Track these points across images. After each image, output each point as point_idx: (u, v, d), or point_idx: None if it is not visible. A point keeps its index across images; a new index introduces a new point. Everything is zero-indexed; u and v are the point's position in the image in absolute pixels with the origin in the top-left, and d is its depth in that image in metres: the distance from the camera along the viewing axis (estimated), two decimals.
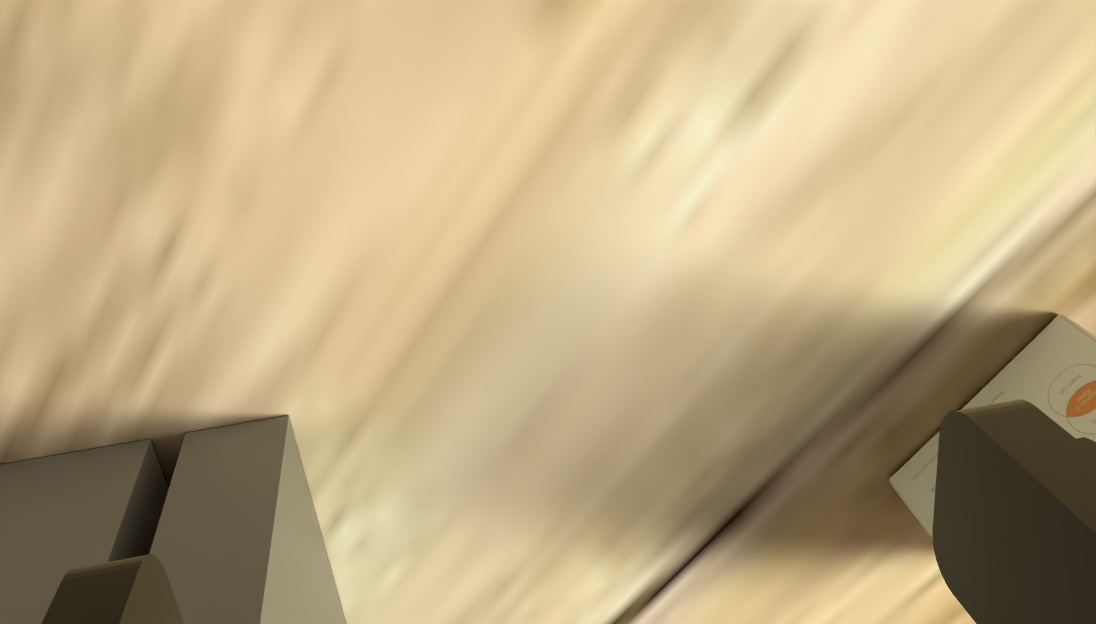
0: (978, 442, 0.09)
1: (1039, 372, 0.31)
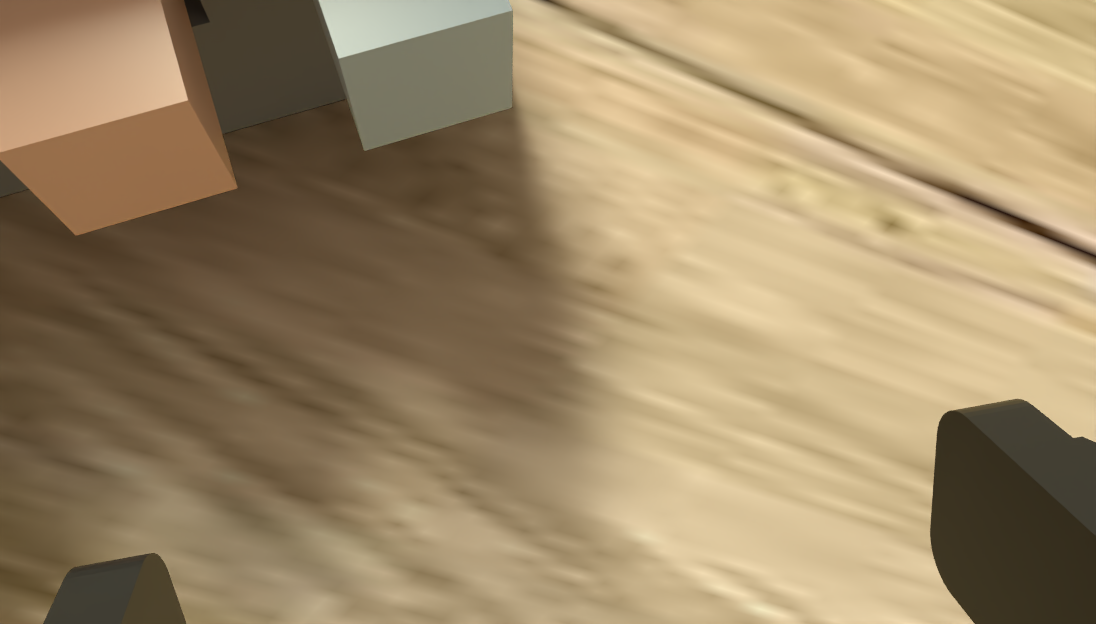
0: (974, 442, 0.09)
1: None
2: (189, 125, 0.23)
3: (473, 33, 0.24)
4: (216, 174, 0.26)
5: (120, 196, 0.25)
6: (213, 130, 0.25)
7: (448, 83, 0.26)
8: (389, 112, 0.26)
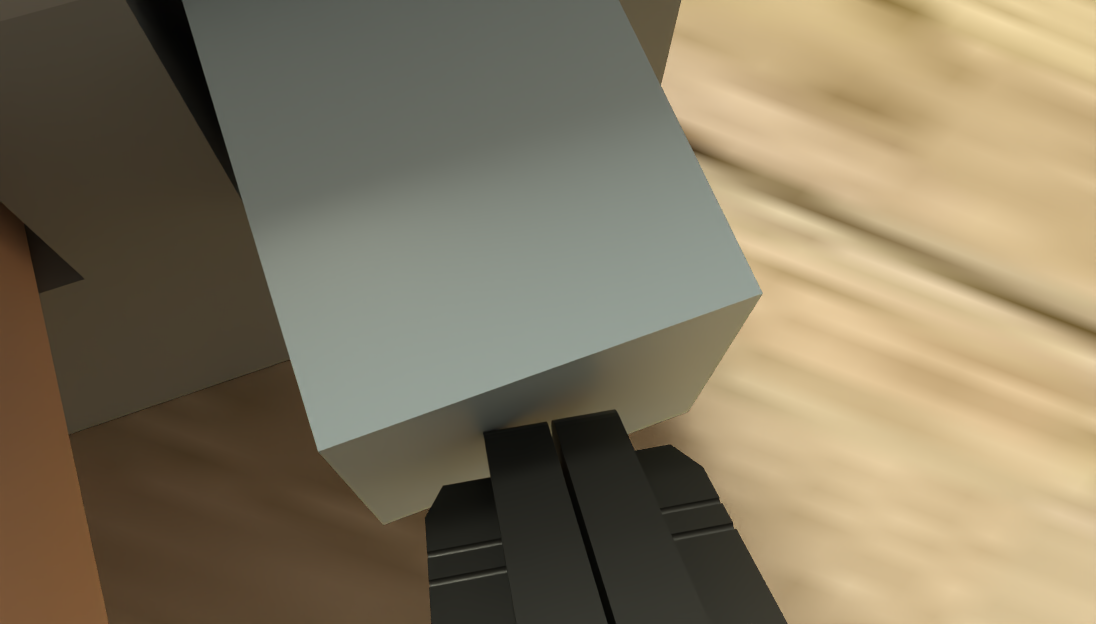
0: (559, 450, 0.10)
1: None
2: None
3: (655, 346, 0.10)
4: None
5: None
6: (52, 616, 0.11)
7: None
8: (439, 478, 0.11)
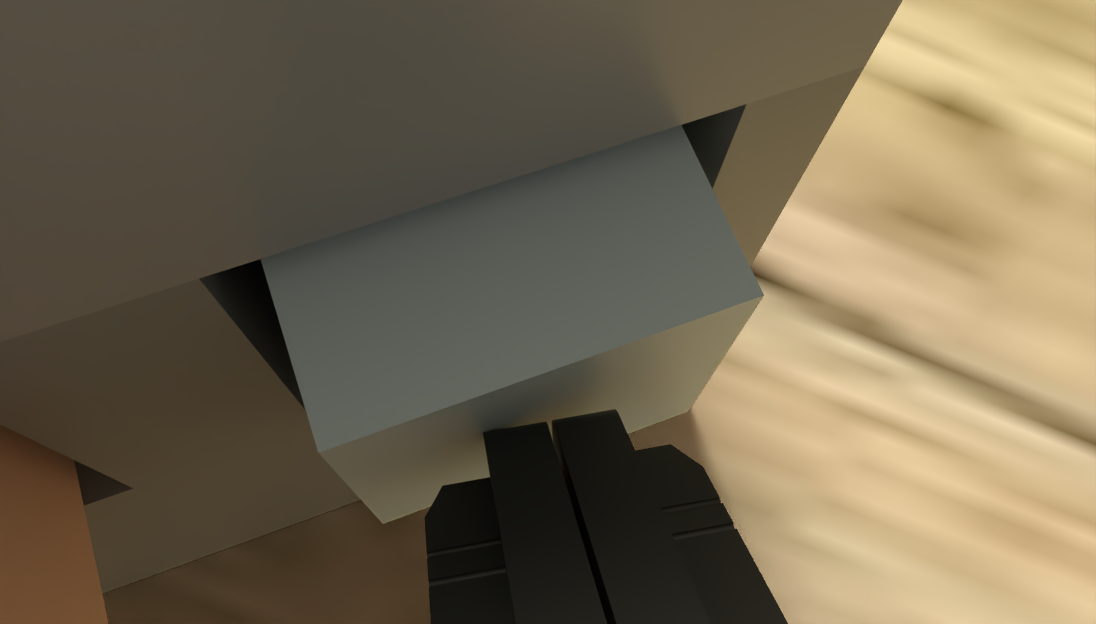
0: (559, 450, 0.10)
1: None
2: None
3: (657, 347, 0.10)
4: None
5: None
6: None
7: None
8: (440, 478, 0.11)
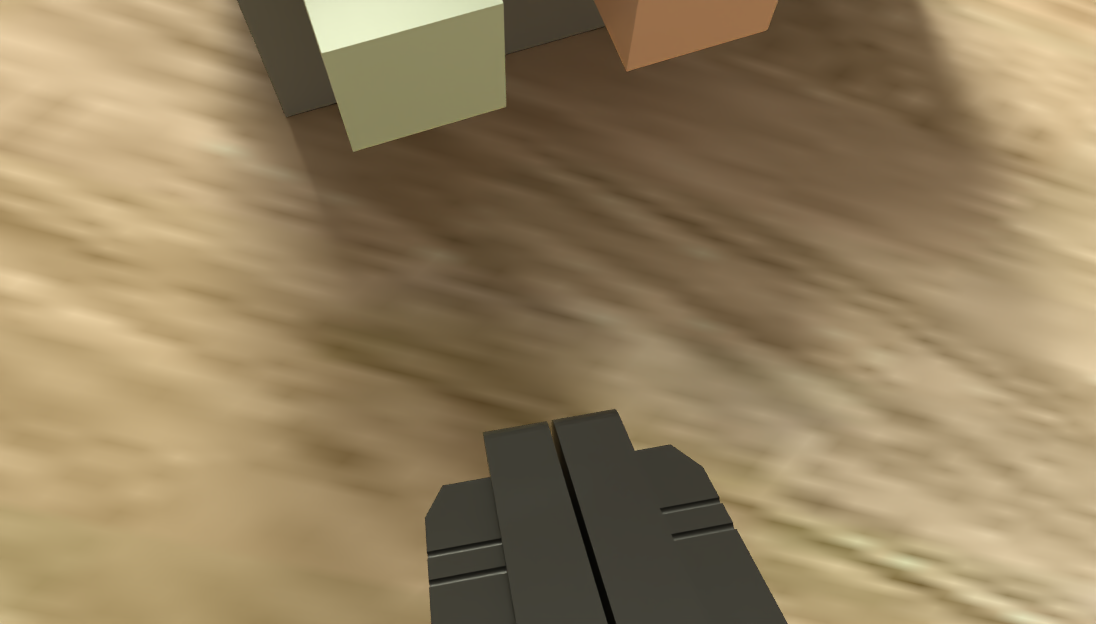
0: (559, 449, 0.10)
1: None
2: None
3: None
4: (764, 11, 0.27)
5: (687, 28, 0.26)
6: None
7: None
8: None
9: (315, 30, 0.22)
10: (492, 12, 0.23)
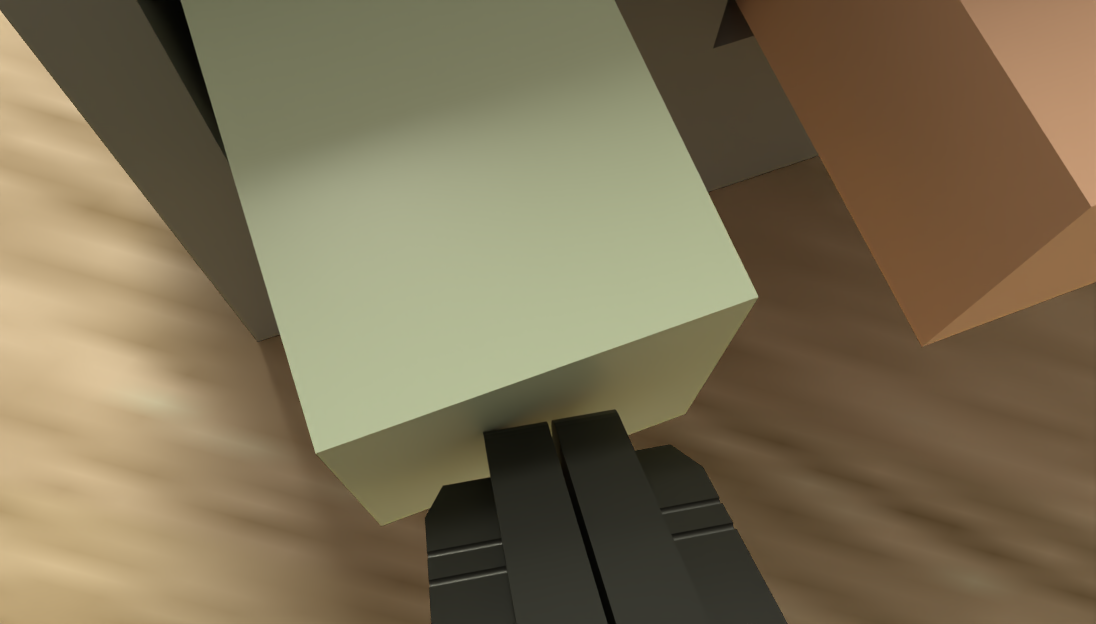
0: (559, 450, 0.10)
1: None
2: None
3: None
4: None
5: (1067, 276, 0.13)
6: None
7: None
8: None
9: (298, 386, 0.09)
10: (726, 314, 0.10)
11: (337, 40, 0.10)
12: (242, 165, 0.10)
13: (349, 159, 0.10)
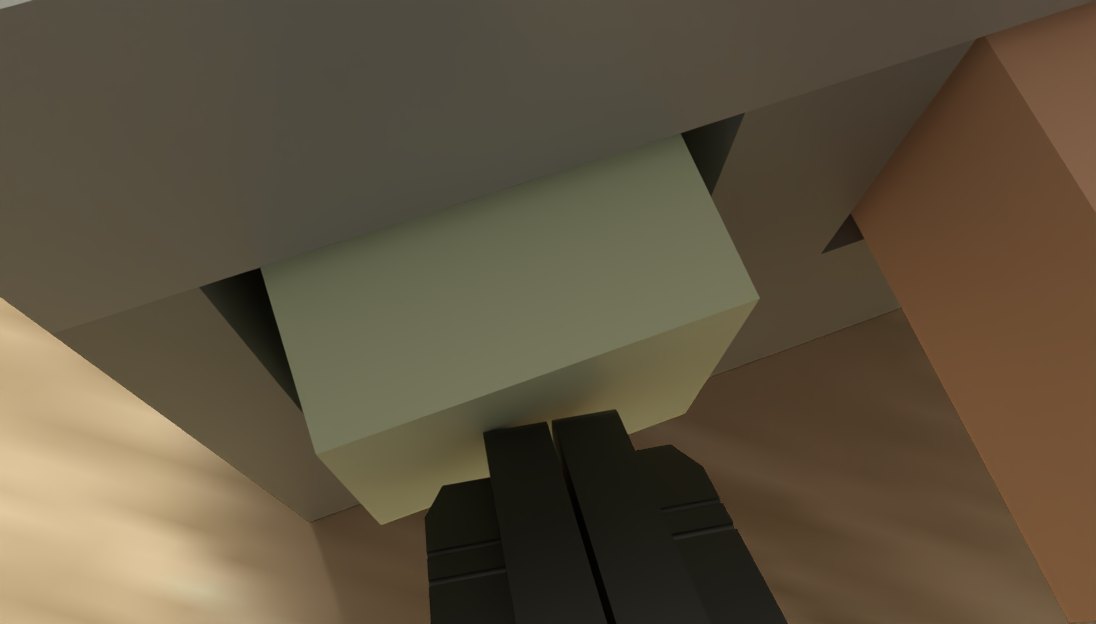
0: (559, 450, 0.10)
1: None
2: None
3: None
4: None
5: None
6: None
7: None
8: None
9: (299, 387, 0.09)
10: (728, 315, 0.09)
11: None
12: None
13: None
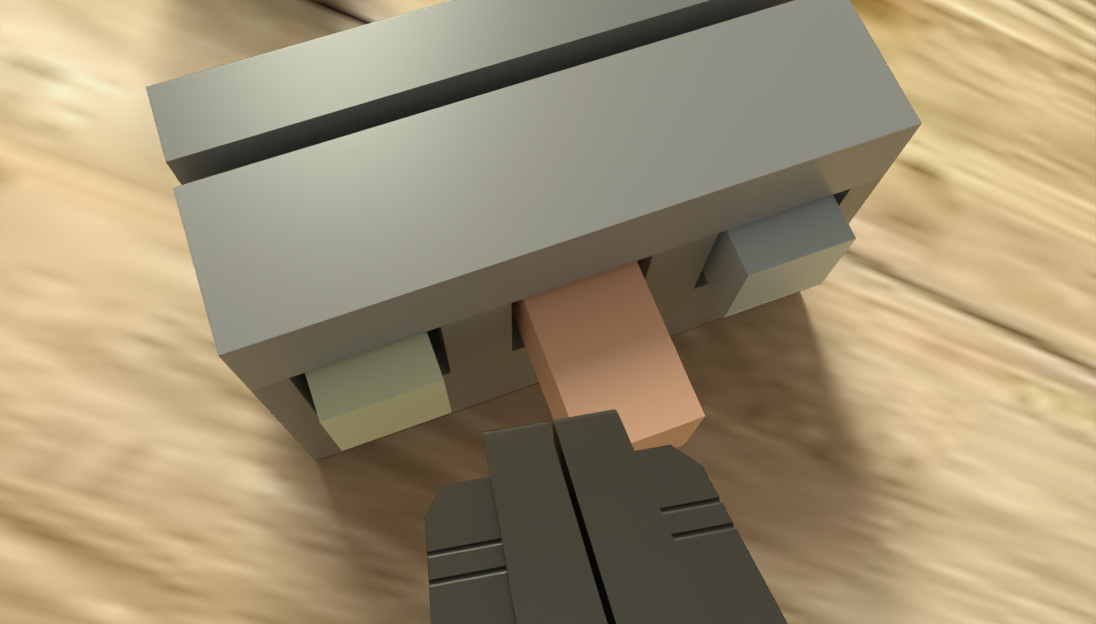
0: (559, 450, 0.10)
1: None
2: (693, 425, 0.34)
3: (826, 252, 0.36)
4: (680, 441, 0.36)
5: None
6: None
7: (795, 277, 0.38)
8: (752, 296, 0.38)
9: (315, 404, 0.33)
10: (436, 383, 0.33)
11: None
12: None
13: None
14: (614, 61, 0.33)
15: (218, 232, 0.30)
